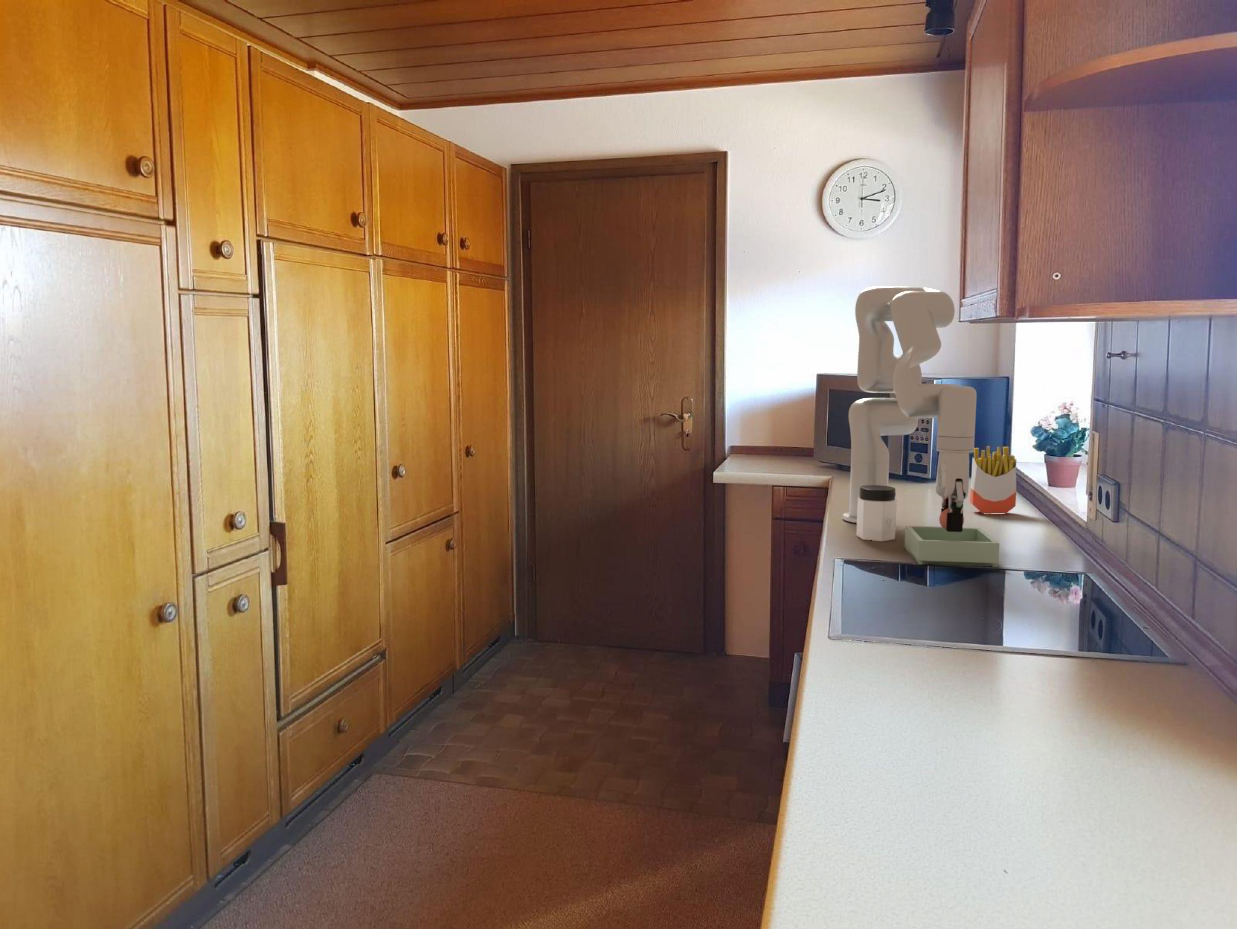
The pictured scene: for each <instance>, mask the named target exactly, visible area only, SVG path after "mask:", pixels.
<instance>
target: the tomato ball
mask: <svg viewBox="0 0 1237 929" xmlns="http://www.w3.org/2000/svg"><path fill="white" fill-rule="evenodd" d="M947 513H949V508H948V509H945V510H944V511H943V512H942V513H941V512H940V514H939V520H938V521H939V525H940V527H943V528H944V529H945V530H946V524H947ZM964 523H965V516H964V515H963V525H964Z"/></svg>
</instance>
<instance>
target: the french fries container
mask: <svg viewBox="0 0 1237 929" xmlns="http://www.w3.org/2000/svg"><path fill="white" fill-rule="evenodd" d="M996 448H997V449H996V451H993V452H992V454H991V452H990V451H991V446H989V445H987V446H986V448H985V449H986V450H982V449H981V454H980V450H979V449H980V448H979V447H974V452H973V457H972V459H971V460H972V461H971V478H970V481H971V482H970V497H969V498H970V499H969V500H970V504H971V505H973V507H975V509H976V510H978V512H980V513H981V514H982V513H1006V514H1008V513H1009V512H1010V511H1011V510H1013V509H1014V508H1015V507H1016V506H1017V505H1016V504H1017V503H1016V502H1017V459H1016V458H1015V457H1016V456H1015V455H1011V454H1010V452H1009V451H1010V446H1002V447H1001V446H997V447H996ZM1001 449H1002V450H1001ZM979 455H980V456H979Z"/></svg>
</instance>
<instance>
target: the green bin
mask: <svg viewBox="0 0 1237 929" xmlns="http://www.w3.org/2000/svg"><path fill="white" fill-rule="evenodd" d="M904 549H905V551H907V553H908V554H909V555H910V557H911V558H912V557H913V558H912V559H913V560H914V561H915V563H916V562H917V563H918V564H917V563H916V564H917V565H925V564H935V565H934V566H954V565H960V567H982V566H992V567H991V568H998V567H999V555H1000V554H999V553H1000V542H998V541H997V540H996V539H995V538H993V537H992V536H991V535H990V534H989V533H987V532H986V531H984V530H983V529H982V528H981V527H964V526H963V530H962V532H948V531H947V530H945V529H944V528H943V527H942V526H931V525H930V526H929V525H928V526H926V525H925V526H924V525H923V526H922V525H905V530H904Z"/></svg>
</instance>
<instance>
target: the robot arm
mask: <svg viewBox="0 0 1237 929" xmlns="http://www.w3.org/2000/svg"><path fill="white" fill-rule="evenodd" d="M856 298H857V299H856V301H855V305H854V306H855V307H854V311H855V312H854V317H855V320H856V322H855V323H856V327H857V332H858V336H859V337H858V352H857V353H858V355H857V372H856V373H857V375H856V378H857V380H856V381H857V386H858V387H859V389H860V390H861V391H863V392H865V393H870V394H871V393H873V394H875V393H876V394H878V393H880V394H882V393H883V394H888V393H889V394H894V395H895V397H866V398H861V399H858V400H856V401H854V402H852V404H851V405H850V407H849V410H848V423H849V429H850V430H849V432H850V442H851V443H850V444H851V445H850V447H851V448H850V474H849V476H850V477H849V478H850V480H849V481H850V482H849V505H848V506H849V507H848V512H844V513H843V514H842V520H844V521H846V522H850V523H854V524H855V523H856V524H857V506H858V497H859V494H860V487H861V486H865V485H881V486H889V474H890V473H889V472H890V470H889V469H890V452H889V449H888V447H887V445H886V443H885V442H884V440H883V438H882V436H906V435H907V436H908V435H910V434H913V433H914V432H915V431H916V430H917V427H918V424H919V421H920V420H919V419H937V425H936V426H937V427H936V429H937V430H936V447H935V448H936V450H935V451H937V452H939V454H938V459H937V467H936V468H937V470H936V480H935V492H936V493H935V494H937V495H938V496H939V497H941V498H942V500H941V509H940V514H941V513H942V512H943V511H944V510H945V509H948V508H949V513H947V524H946V530H947V531H948V532H962V530H963V527H964V524H963V516H964V501H965V500H966V499H967V498H968V496H969V486H970V484H969V483H970V454H972V453H974V448H975V438H976V437H975V434H976V416H977V414H976V413H977V412H976V411H977V391H976V389H975V388H974V387H972V386H969V385H968V386H967V385H966V386H965V385H963V386H962V385H958V384H954V383H922V378H923V377H922V367H921V365H920V364H922V363H924V362H927V361H929V360H931V359H932V358H934V357H935V356H936V355H938V353H939V352H940V351H941V348H942V341H941V338H940V335H939V333H938V332H939V331H938V328H939V329H942V328H946V327H948V326H949V325H951V323H952V322H953V320H954V317H955V313H956V312H955V303H954V301H953V299H952V297H951V296H950V295H949V294H948V293H947V292H945V291H942V290H938V289H934V288H929V287H925V286H924V287H922V286H895V285H894V286H893V285H889V286H888V285H885V286H884V285H881V286H871V287H867V288H865V289H863V290H862V291H861V292H860V293H859V294H858V296H857V297H856ZM887 322H893V327H894V328H895V332H896V335H897V338H898V341H899V345H900V348H901V351H902V354H900V355H899V354H898V355H894V349H895V346H894V345H895V337H894V336H895V335H894V333H893V332H892V330H891V328H890V326H889V325H888V323H887Z"/></svg>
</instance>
